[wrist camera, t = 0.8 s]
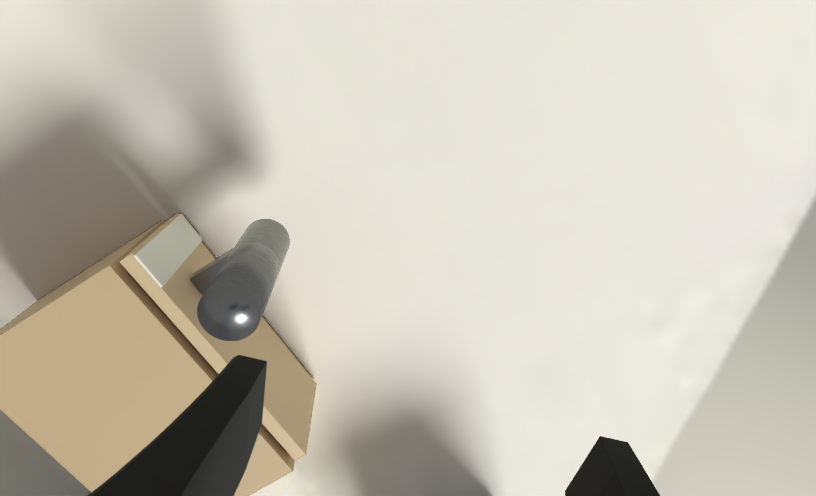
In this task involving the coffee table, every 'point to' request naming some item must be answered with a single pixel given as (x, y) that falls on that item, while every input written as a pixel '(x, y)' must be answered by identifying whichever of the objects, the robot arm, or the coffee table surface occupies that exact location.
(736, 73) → the coffee table surface
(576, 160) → the coffee table surface
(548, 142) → the coffee table surface
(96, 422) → the carton
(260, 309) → the wooden box lid
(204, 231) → the coffee table surface
